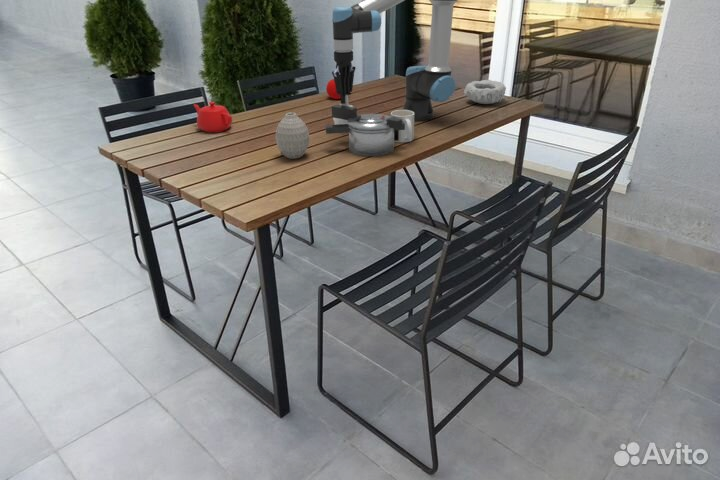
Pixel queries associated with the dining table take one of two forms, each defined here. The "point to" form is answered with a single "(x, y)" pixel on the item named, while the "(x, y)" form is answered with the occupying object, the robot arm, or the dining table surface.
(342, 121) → the cup
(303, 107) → the dining table surface
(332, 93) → the tomato
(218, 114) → the teapot
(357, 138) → the pot
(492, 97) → the bowl
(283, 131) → the vase
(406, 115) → the mug
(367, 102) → the dining table surface
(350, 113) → the lid
